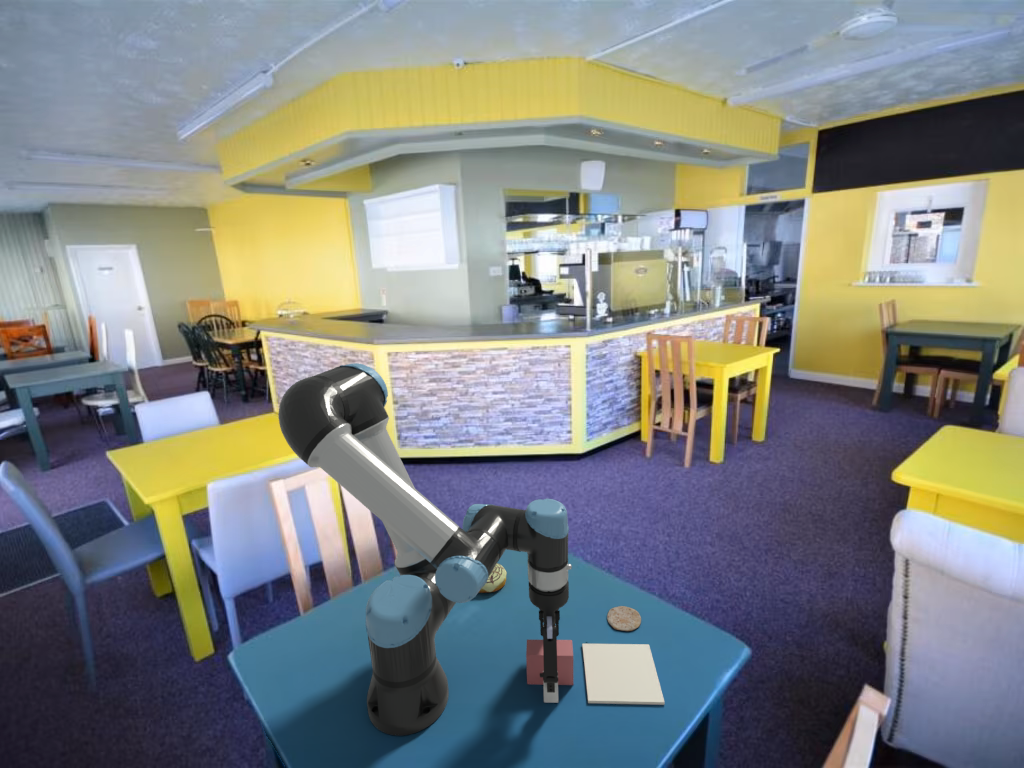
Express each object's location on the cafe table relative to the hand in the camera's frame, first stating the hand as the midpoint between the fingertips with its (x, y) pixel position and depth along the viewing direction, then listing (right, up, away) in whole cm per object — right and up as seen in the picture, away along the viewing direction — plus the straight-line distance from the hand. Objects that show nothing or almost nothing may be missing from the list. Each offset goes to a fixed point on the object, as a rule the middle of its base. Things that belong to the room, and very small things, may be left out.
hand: (550, 675), depth 100 cm
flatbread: (+18, +4, +14) cm, 23 cm away
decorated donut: (-14, +7, +29) cm, 33 cm away
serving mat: (+14, 0, 0) cm, 14 cm away
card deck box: (0, 0, 0) cm, 0 cm away
